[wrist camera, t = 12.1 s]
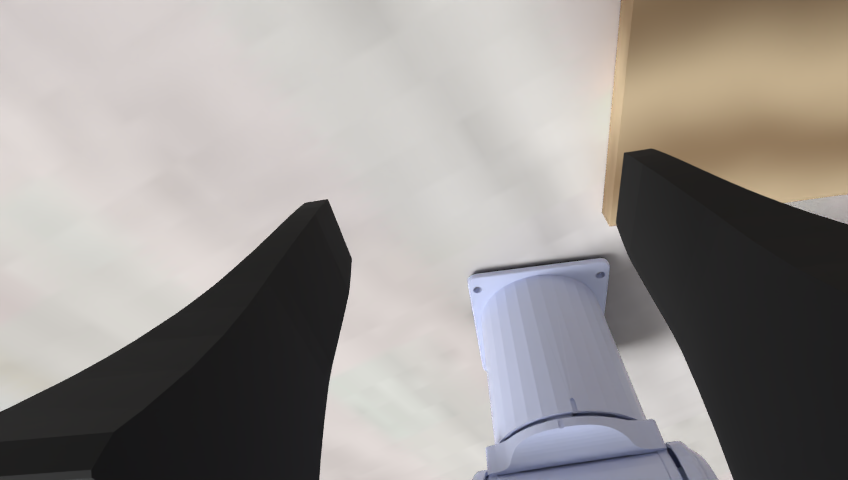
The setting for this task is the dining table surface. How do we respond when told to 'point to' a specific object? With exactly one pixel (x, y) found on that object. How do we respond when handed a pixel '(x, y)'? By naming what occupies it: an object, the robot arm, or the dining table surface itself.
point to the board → (735, 93)
